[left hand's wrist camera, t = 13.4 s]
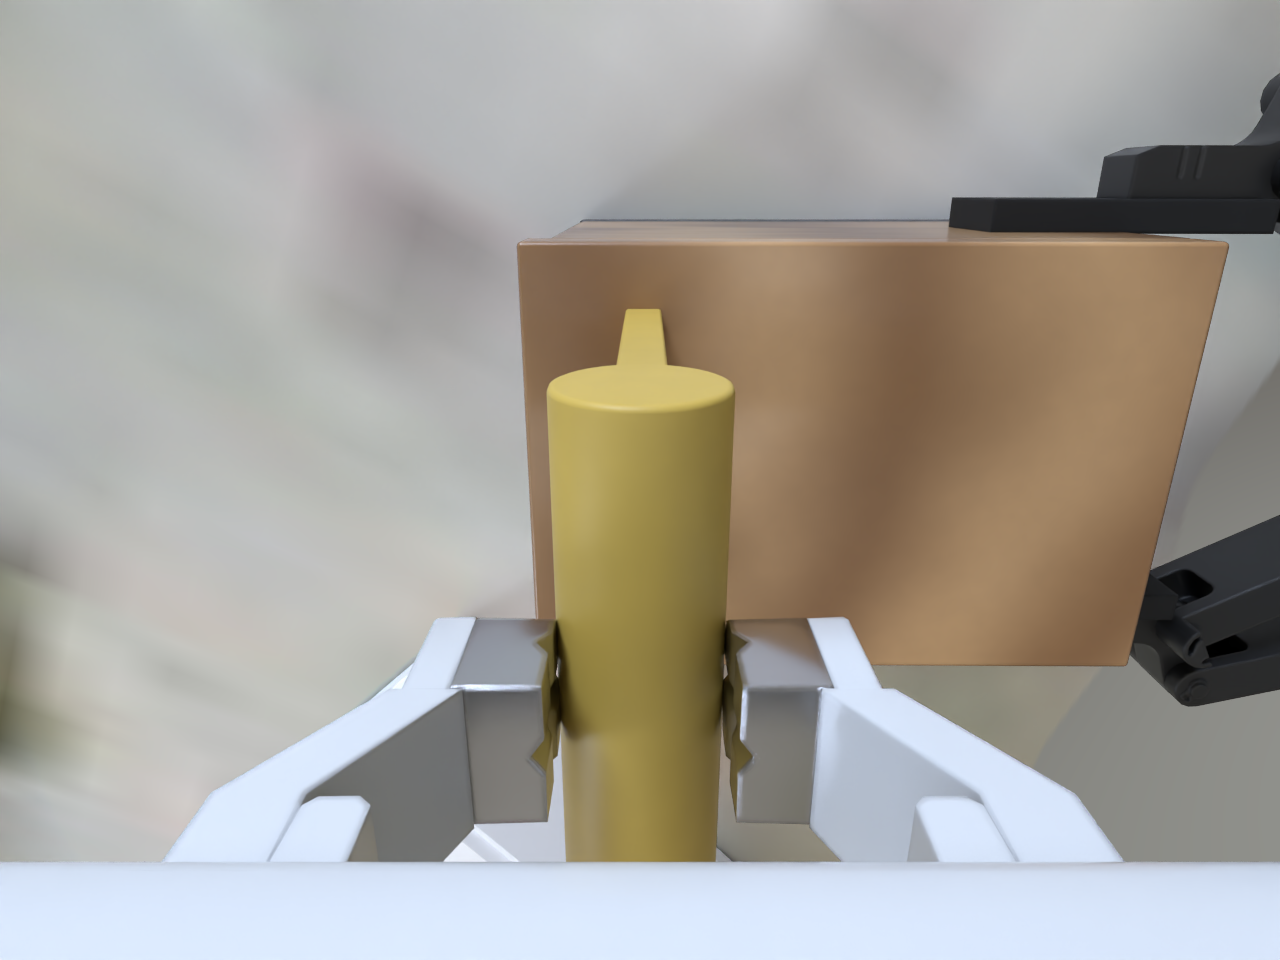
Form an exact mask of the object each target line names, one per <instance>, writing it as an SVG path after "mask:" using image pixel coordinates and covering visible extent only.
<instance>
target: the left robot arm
mask: <svg viewBox="0 0 1280 960" xmlns="http://www.w3.org/2000/svg"><path fill="white" fill-rule="evenodd" d="M724 654H725V660H726V666H727V671H728V675H727V676H726V678H725V679H724V680H723V698H722V725H723V736H724V745H725V752H726V756H727V757H728V758H729V759H730V760H731V764H730V786H731V792H732V798H733V804H734V810H735V816H736V822H746V823H783V824H810V829H811V830H812V831H813V832H814V833H815V834H816V835H817V836H818V837H819V838H820V839H821V840H822V841H823V842H824V843H825V844H826V846H827V847H828V848H829V849H830V850H831V851H832V852H833V853H834V854H835V855H836V856H837V857H838V858H839V859H840V860H841V861H842V862H443V861H444V860H445V859H446V858H447V857H448V856H449V855H450V854H451V853H452V852H453V851H454V849H455V848H456V847H457V846H458V845H459V844H460V843H461V842H462V841H463V840H464V839H465V838H466V837H467V836H468V835H469V833H470V832H471V831H472V830H473V829H474V824H500V823H536V822H548V817H549V810H550V804H551V797H552V791H553V784H554V769H553V759H555V758H556V757H557V756H558V749H559V742H560V728H561V708H560V687H559V679H558V677H557V676H556V670H557V663H558V657H559V656H558V636H557V619H518V618H479V619H478V618H476V617H453V618H438V619H436V620H435V621H434V622H433V624H432V626H431V628H430V631H429V633H428V635H427V637H426V639H425V641H424V643H423V645H422V647H421V649H420V651H419V653H418V655H417V657H416V660H415V662H414V664H413V666H412V668H411V670H410V672H409V674H408V676H407V678H406V680H405V682H404V684H403V687H402V689H388V690H387V691H385V692H383V693H381V694H380V695H378V696H376V697H375V698H373V699H371V700H369V701H368V702H366V703H364V704H362V705H361V706H359V707H357V708H356V709H354V710H352V711H350V712H349V713H347V714H345V715H344V716H342V717H340V718H338V719H337V720H335V721H333V722H332V723H330V724H328V725H326V726H325V727H323V728H321V729H320V730H318V731H316V732H314V733H313V734H311V735H309V736H308V737H306V738H304V739H302V740H301V741H299V742H297V743H296V744H294V745H292V746H290V747H289V748H287V749H285V750H283V751H282V752H280V753H278V754H277V755H275V756H273V757H271V758H270V759H268V760H266V761H265V762H263V763H261V764H259V765H258V766H256V767H254V768H253V769H251V770H249V771H247V772H246V773H244V774H242V775H241V776H239V777H237V778H235V779H234V780H232V781H230V782H229V783H227V784H225V785H223V786H222V787H220V788H218V789H216V790H215V791H213V792H211V793H210V795H209V796H208V798H207V799H206V800H205V802H204V803H203V805H202V806H201V807H200V809H199V810H198V812H197V813H196V814H195V816H194V817H193V819H192V820H191V821H190V823H189V824H188V825H187V827H186V828H185V830H184V831H183V832H182V834H181V835H180V837H179V838H178V839H177V841H176V842H175V844H174V845H173V846H172V848H171V849H170V851H169V852H168V853H167V855H166V856H165V858H164V859H163V860H162V862H0V960H1280V862H1124V860H1123V859H1122V857H1121V856H1120V855H1119V853H1118V852H1117V850H1116V849H1115V848H1114V846H1113V845H1112V844H1111V842H1110V841H1109V839H1108V838H1107V837H1106V835H1105V834H1104V832H1103V831H1102V830H1101V828H1100V827H1099V825H1098V824H1097V823H1096V821H1095V820H1094V818H1093V817H1092V816H1091V814H1090V813H1089V812H1088V810H1087V809H1086V807H1085V806H1084V805H1083V803H1082V802H1081V800H1080V799H1079V798H1078V796H1077V795H1076V794H1075V793H1073V792H1072V791H1070V790H1068V789H1066V788H1065V787H1063V786H1061V785H1060V784H1058V783H1056V782H1054V781H1053V780H1051V779H1049V778H1048V777H1046V776H1044V775H1042V774H1041V773H1039V772H1037V771H1036V770H1034V769H1032V768H1030V767H1029V766H1027V765H1025V764H1024V763H1022V762H1020V761H1018V760H1017V759H1015V758H1013V757H1011V756H1010V755H1008V754H1006V753H1005V752H1003V751H1001V750H999V749H998V748H996V747H994V746H993V745H991V744H989V743H987V742H986V741H984V740H982V739H980V738H979V737H977V736H975V735H974V734H972V733H970V732H968V731H967V730H965V729H963V728H962V727H960V726H958V725H956V724H955V723H953V722H951V721H949V720H948V719H946V718H944V717H943V716H941V715H939V714H937V713H936V712H934V711H932V710H931V709H929V708H927V707H925V706H924V705H922V704H920V703H919V702H917V701H915V700H913V699H912V698H910V697H908V696H906V695H905V694H903V693H901V692H900V691H898V690H896V689H883V688H882V686H881V684H880V682H879V680H878V678H877V676H876V674H875V672H874V670H873V668H872V666H871V664H870V662H869V660H868V658H867V656H866V654H865V652H864V650H863V648H862V646H861V644H860V642H859V640H858V638H857V636H856V634H855V632H854V630H853V628H852V626H851V624H850V622H849V620H848V619H846V618H845V617H827V618H779V619H738V620H727V621H726V628H725V648H724Z"/></svg>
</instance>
